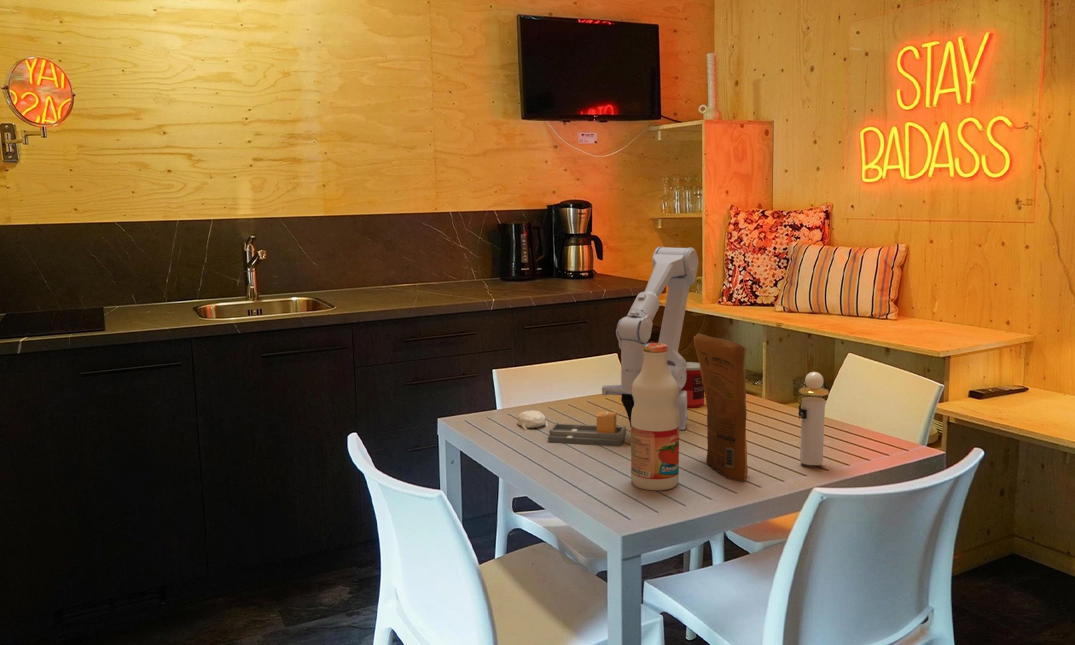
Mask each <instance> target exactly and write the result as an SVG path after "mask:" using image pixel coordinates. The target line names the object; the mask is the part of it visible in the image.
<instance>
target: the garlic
mask: <svg viewBox="0 0 1075 645" xmlns="http://www.w3.org/2000/svg"><path fill="white" fill-rule="evenodd" d="M517 423H518V426H519V425H521V426H520V427H522V429H523V430H525V429H537V428H541V427H542V426H548V427H549V425H548V421H547V420H546V416H545V415H544V414H543V413H542V412H541V411H538V410H535V409H534V410H524V411H522V412H520V413H519V414H518V416H517Z"/></svg>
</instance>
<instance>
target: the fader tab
mask: <svg viewBox="0 0 1075 645" xmlns="http://www.w3.org/2000/svg"><path fill="white" fill-rule="evenodd" d="M596 425H597V432H599V433H616V426H617V412H612V411H611V412H610V411H599V412H598V414H597V415H596Z"/></svg>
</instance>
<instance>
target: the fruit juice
mask: <svg viewBox="0 0 1075 645" xmlns="http://www.w3.org/2000/svg"><path fill="white" fill-rule="evenodd" d="M642 350H643V354H644V363H643V366H642V369H641V372H640V374H639V375H638V376H637V377H636V379H635V380H634V382H633V384H632V396H633V399H634V407H633V409H632V413H631V427H630V479H631V483H632V484H633V486H635V487H636V488H639V489H641V490H642V489H643V490H646V491H647V490H648V491H665V490H666V491H667V490H670V489H673V488H675V487H677V486H678V484H679V478H680V475H679V474H680V473H679V471H680V469H679V468H680V465H679V464H680V461H679V460H680V430H679V412H678V409H677V407H676V401H677V398H678V394H679V388H678V384H677V382H676V380H675V379H674V377H673V376H672V375H671V373H670V370H669V368H668V364H669V363H667V359H666V355H667V354H668V345H666V344H662V343H658V342H650V343H649V342H647V343H646V344H644V345H643V349H642Z"/></svg>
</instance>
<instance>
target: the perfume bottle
mask: <svg viewBox="0 0 1075 645" xmlns="http://www.w3.org/2000/svg"><path fill="white" fill-rule="evenodd" d="M804 382H805V385H806V386H805V387H800V388H799V390H798V392H799V394H801V395H804V397H802V398H801V400H800V401H799V403H798V419H799V420H798V421H800V420H801V423H800V424H801V426H800V449H799V450H800V452H799V454H800V455H799V462H800V463H802V464H804V465H807V466H821V465H822V464H823V463H824V441H825V440H824V437H825V410H826V400H825V398H822V397H825V396H828V395H829V394H830V392H829V389H826V388H823V385H824V377H823V375H822V374H821V373H819V372H817V371H811V372H809V373H807V374H806V376H805V378H804ZM800 418H801V419H800Z"/></svg>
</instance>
